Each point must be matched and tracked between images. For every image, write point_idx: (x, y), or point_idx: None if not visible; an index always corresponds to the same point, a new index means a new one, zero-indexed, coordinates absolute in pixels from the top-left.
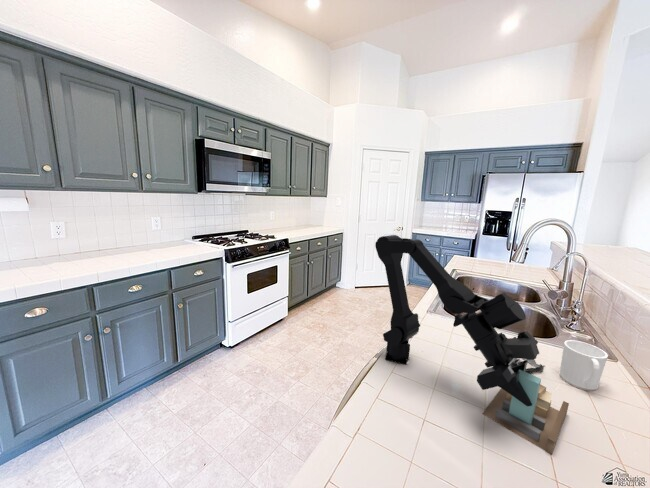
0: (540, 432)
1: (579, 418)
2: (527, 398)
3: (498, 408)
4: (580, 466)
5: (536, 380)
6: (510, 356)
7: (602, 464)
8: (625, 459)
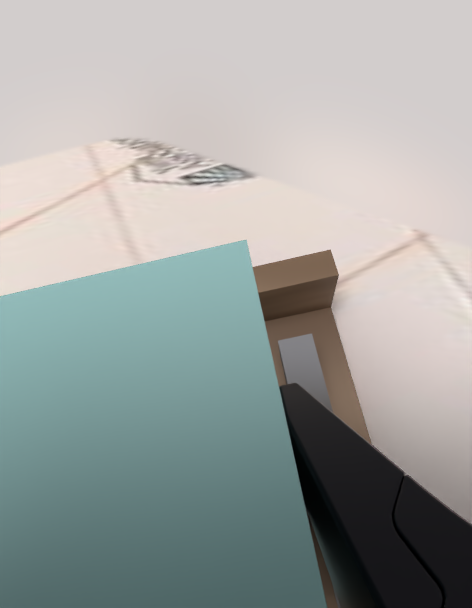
0: (288, 339)
1: None
2: (326, 414)
3: None
4: (251, 227)
5: (141, 322)
6: None
7: (165, 201)
8: (70, 181)
